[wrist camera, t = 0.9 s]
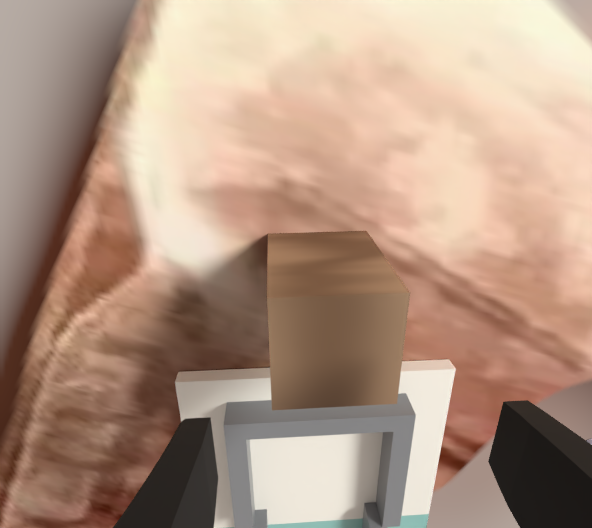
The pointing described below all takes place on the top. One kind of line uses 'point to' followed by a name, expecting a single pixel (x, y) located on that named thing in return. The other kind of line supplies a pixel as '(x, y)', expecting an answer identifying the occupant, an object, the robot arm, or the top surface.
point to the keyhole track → (321, 451)
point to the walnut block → (333, 321)
